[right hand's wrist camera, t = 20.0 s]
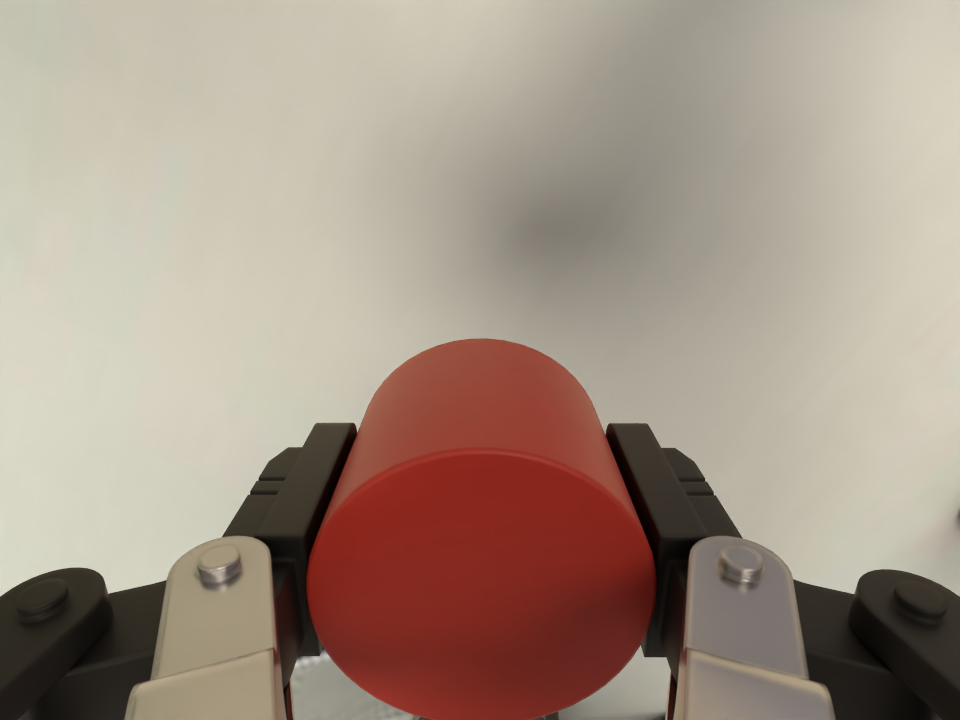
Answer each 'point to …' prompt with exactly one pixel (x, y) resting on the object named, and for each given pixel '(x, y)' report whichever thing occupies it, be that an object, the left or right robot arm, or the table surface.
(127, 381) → the table surface
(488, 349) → the can
